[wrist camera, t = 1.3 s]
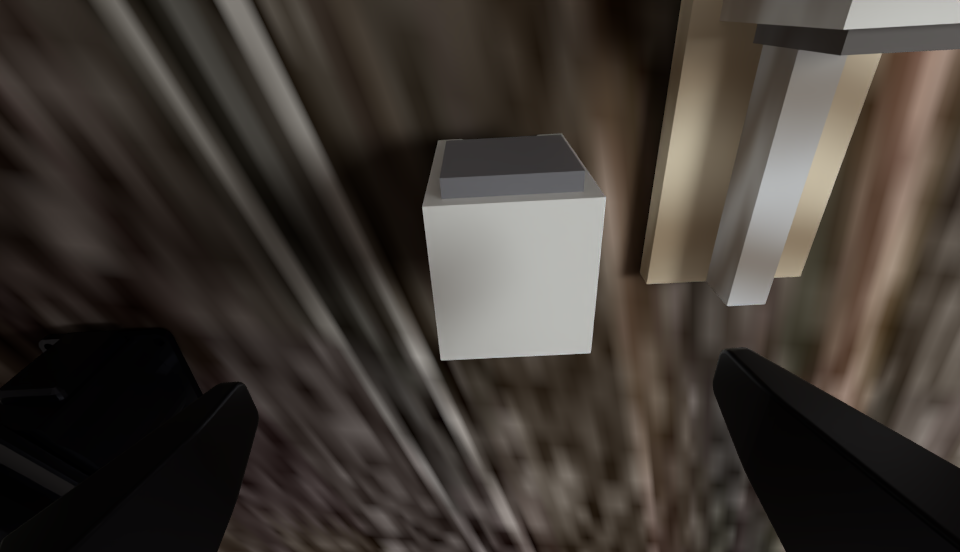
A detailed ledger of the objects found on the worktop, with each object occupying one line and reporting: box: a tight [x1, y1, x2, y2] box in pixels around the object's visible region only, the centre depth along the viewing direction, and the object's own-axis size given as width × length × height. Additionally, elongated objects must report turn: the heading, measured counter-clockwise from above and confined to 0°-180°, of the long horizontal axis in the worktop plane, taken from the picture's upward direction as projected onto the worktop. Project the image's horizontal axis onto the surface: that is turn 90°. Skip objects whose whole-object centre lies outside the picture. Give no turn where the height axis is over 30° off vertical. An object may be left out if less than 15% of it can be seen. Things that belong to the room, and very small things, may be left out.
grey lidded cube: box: [422, 134, 606, 360], centre depth 17 cm, size 6×5×7 cm
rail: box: [640, 0, 960, 306], centre depth 15 cm, size 16×7×7 cm, turn 3°
